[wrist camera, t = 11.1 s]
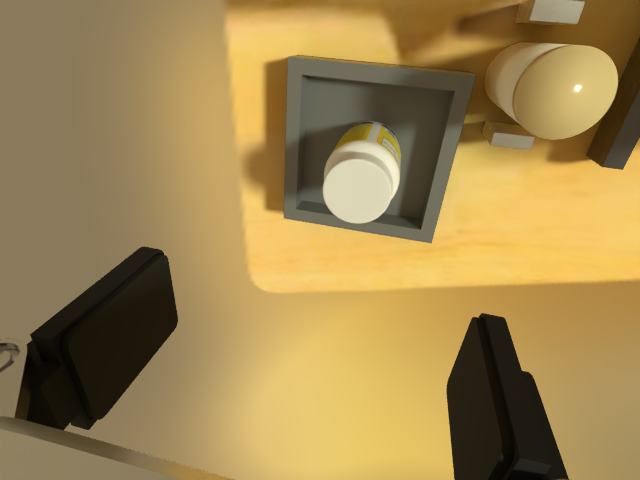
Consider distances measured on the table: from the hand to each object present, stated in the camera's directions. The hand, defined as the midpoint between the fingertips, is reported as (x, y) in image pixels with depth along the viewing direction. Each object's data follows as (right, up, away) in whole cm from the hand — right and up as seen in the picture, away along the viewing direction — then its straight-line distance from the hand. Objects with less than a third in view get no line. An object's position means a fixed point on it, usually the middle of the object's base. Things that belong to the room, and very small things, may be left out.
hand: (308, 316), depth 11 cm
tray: (+4, +9, +17) cm, 20 cm away
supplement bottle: (+4, +9, +17) cm, 20 cm away
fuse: (+13, +13, +13) cm, 23 cm away
